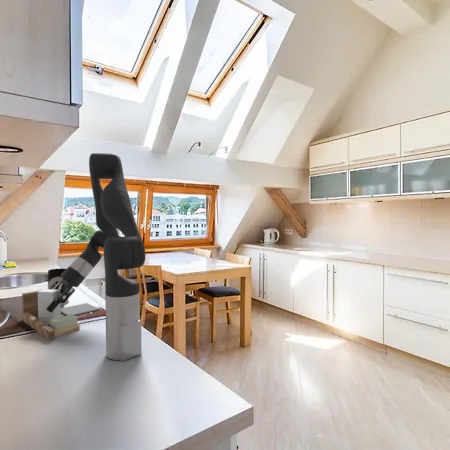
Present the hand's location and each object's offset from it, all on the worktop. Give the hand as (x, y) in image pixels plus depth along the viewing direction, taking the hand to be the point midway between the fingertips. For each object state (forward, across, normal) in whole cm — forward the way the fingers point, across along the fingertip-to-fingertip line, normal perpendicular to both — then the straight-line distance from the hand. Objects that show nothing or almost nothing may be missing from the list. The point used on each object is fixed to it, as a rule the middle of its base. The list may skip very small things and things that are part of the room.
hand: (44, 308), depth 113 cm
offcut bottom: (+3, +12, +6) cm, 13 cm away
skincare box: (+3, 0, +5) cm, 6 cm away
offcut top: (+1, +12, +4) cm, 13 cm away
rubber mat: (-7, -8, +15) cm, 18 cm away
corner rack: (+3, +3, +5) cm, 7 cm away
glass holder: (-6, -27, +14) cm, 31 cm away
